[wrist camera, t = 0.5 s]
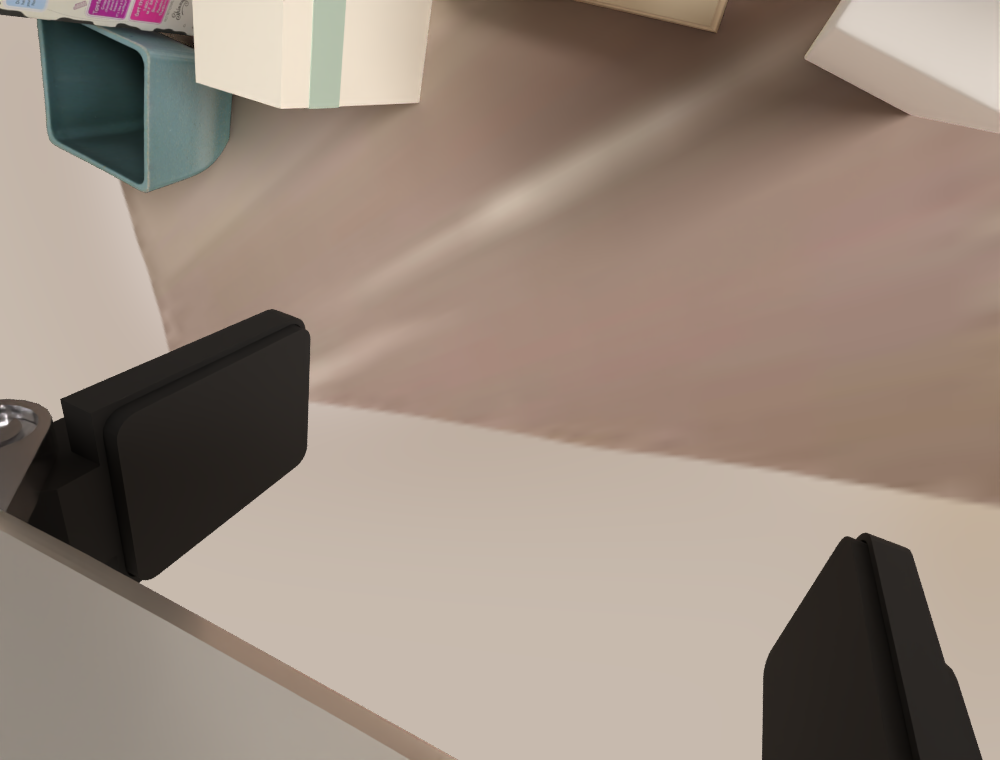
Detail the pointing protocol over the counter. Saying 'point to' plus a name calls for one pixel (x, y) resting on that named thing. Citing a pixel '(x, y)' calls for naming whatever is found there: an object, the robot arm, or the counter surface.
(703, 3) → the podium
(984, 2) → the milk
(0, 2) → the candy bar box
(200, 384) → the robot arm
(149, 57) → the flower pot
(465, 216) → the counter surface
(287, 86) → the carton
